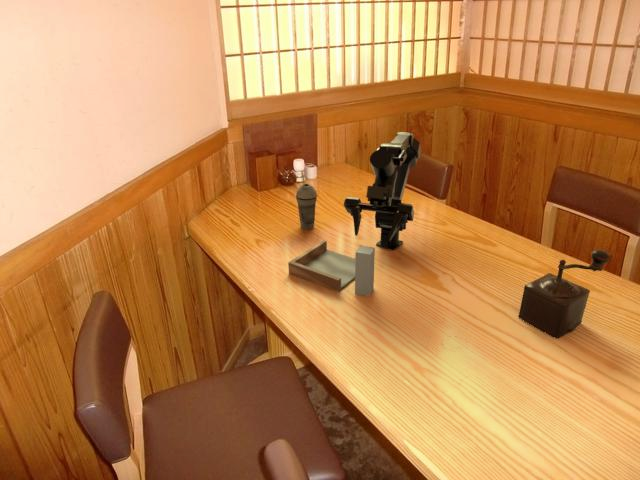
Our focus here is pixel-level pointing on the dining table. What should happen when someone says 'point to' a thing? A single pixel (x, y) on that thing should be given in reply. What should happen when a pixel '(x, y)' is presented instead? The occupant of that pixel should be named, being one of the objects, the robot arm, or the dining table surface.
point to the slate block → (364, 270)
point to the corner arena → (324, 267)
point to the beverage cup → (306, 205)
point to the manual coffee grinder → (558, 299)
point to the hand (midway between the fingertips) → (372, 237)
